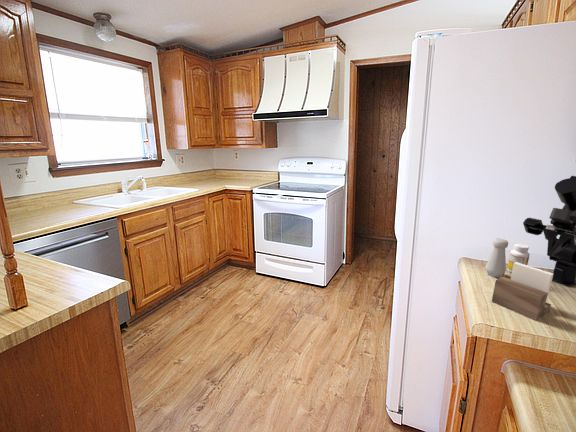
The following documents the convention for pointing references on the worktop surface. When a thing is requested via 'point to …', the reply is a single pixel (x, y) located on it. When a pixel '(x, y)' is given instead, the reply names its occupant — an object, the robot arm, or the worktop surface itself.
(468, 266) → the worktop surface
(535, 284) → the button plate
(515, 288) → the brown wooden stand
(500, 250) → the salt shaker
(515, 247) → the supplement bottle
